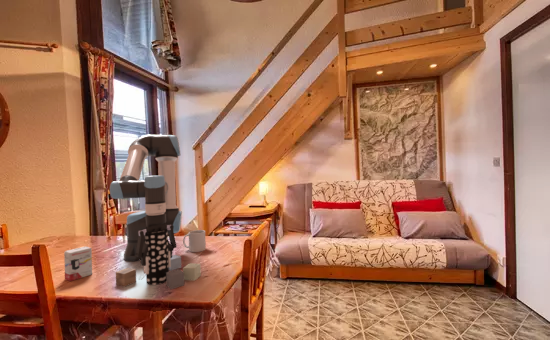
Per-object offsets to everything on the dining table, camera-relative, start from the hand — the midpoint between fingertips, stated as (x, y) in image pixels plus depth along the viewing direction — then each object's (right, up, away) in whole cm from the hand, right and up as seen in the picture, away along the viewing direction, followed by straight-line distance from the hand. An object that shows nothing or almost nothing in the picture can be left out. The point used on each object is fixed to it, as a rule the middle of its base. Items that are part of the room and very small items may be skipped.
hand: (157, 269), depth 108 cm
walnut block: (-12, -5, -2) cm, 13 cm away
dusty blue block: (+1, -4, +14) cm, 14 cm away
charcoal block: (+9, -4, -5) cm, 11 cm away
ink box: (-37, -6, +6) cm, 38 cm away
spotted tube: (0, -5, 0) cm, 5 cm away
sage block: (+13, -4, +2) cm, 14 cm away
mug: (+3, -4, +41) cm, 41 cm away
